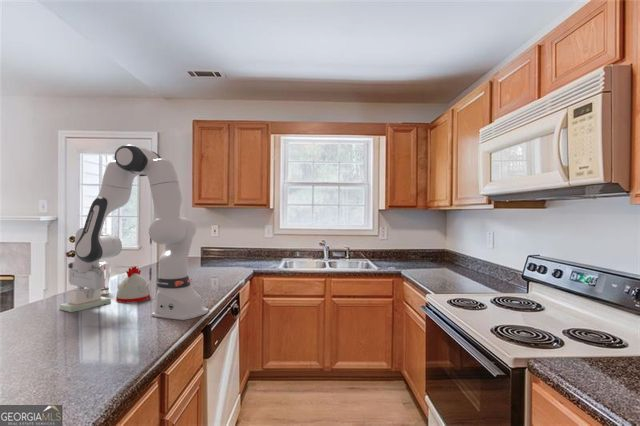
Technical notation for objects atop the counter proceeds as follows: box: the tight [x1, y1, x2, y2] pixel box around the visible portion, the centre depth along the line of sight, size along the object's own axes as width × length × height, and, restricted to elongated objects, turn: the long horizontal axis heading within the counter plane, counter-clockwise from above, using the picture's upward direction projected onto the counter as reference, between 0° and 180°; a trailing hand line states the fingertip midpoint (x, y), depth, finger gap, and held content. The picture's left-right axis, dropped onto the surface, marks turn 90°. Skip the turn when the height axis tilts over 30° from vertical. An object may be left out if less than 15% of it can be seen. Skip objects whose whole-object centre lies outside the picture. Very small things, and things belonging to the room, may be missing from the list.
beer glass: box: [99, 261, 112, 296], centre depth 165 cm, size 7×7×15 cm
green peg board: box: [59, 296, 112, 313], centre depth 144 cm, size 8×16×5 cm, turn 154°
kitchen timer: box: [115, 266, 151, 303], centre depth 158 cm, size 14×14×15 cm
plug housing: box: [70, 287, 110, 304], centre depth 146 cm, size 4×14×5 cm, turn 154°
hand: (86, 297), depth 144 cm, fingers closed on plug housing, 4 cm apart
